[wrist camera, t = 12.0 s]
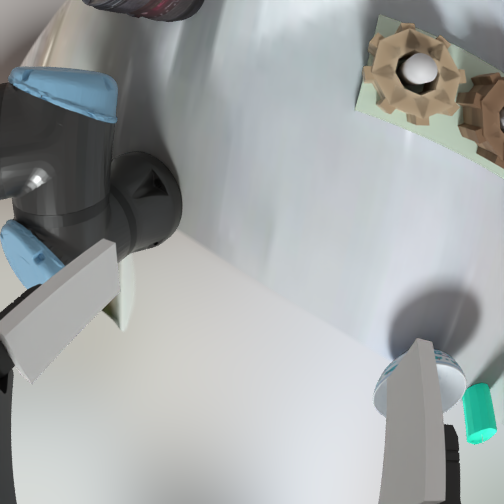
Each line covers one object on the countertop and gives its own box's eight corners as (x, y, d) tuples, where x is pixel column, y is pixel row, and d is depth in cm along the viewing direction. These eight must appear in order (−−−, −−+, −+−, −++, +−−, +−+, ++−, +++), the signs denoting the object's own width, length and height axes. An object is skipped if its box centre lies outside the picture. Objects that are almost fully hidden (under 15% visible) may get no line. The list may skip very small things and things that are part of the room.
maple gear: (354, 101, 29) (353, 101, 24) (374, 24, 23) (377, 8, 18) (435, 134, 27) (450, 141, 22) (456, 58, 22) (474, 51, 17)
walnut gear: (458, 156, 27) (476, 168, 22) (451, 71, 23) (470, 67, 18) (523, 161, 24) (548, 174, 19) (520, 81, 19) (545, 82, 14)
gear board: (354, 109, 30) (354, 112, 22) (378, 17, 24) (384, -10, 16) (505, 179, 27) (541, 206, 19) (530, 95, 20) (572, 101, 12)
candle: (479, 379, 40) (489, 432, 31) (493, 388, 40) (503, 438, 30) (456, 396, 44) (461, 448, 34) (471, 404, 44) (477, 453, 34)
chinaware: (408, 397, 47) (408, 430, 41) (357, 361, 47) (352, 397, 40) (473, 356, 39) (481, 391, 33) (427, 310, 39) (434, 347, 32)
